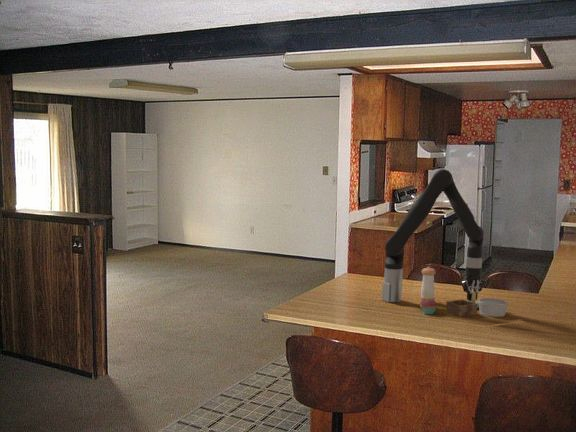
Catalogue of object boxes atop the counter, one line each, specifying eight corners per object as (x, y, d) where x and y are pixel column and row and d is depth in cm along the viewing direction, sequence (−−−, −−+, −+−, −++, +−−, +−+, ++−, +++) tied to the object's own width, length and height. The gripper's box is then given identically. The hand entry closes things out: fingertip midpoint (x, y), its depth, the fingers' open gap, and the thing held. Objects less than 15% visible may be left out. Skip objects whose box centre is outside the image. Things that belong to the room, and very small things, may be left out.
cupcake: (427, 317, 286) (428, 292, 285) (415, 313, 293) (416, 288, 292) (441, 315, 290) (442, 290, 288) (429, 311, 297) (430, 287, 296)
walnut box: (460, 318, 285) (460, 306, 284) (445, 313, 294) (446, 301, 293) (476, 316, 289) (477, 304, 288) (461, 311, 298) (462, 299, 297)
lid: (471, 308, 298) (472, 295, 297) (457, 303, 306) (458, 290, 306) (487, 306, 302) (487, 293, 301) (472, 301, 311) (473, 289, 310)
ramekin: (503, 312, 298) (503, 298, 297) (510, 319, 285) (511, 305, 284) (475, 311, 299) (476, 297, 299) (481, 318, 286) (481, 303, 286)
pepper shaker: (417, 303, 312) (418, 266, 310) (424, 301, 317) (426, 264, 315) (429, 306, 307) (431, 268, 305) (437, 303, 313) (438, 266, 311)
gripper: (468, 268, 296) (466, 303, 298) (490, 266, 302) (488, 300, 304) (457, 265, 303) (455, 299, 305) (479, 264, 309) (477, 297, 311)
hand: (472, 300), depth 304 cm, fingers closed on lid, 3 cm apart
